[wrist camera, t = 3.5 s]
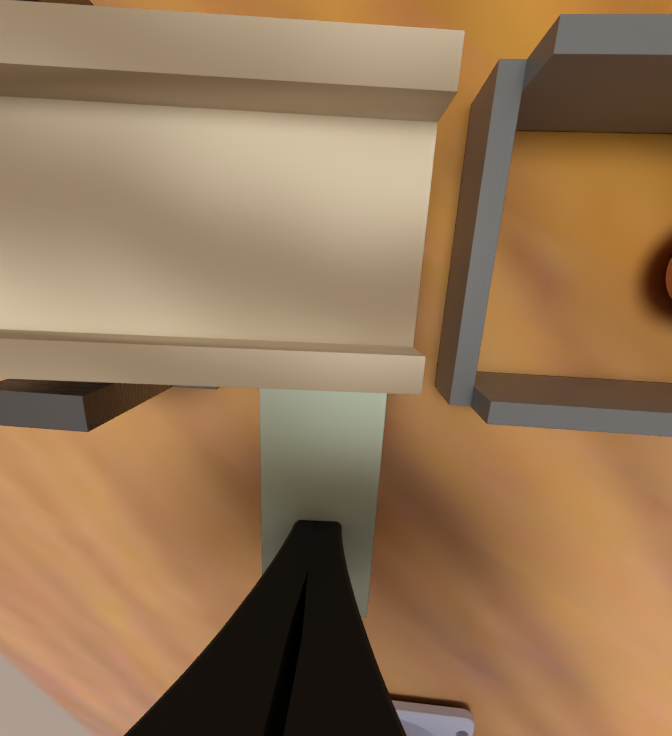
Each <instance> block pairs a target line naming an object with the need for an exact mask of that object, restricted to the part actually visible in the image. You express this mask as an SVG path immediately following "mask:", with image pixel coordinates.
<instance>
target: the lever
mask: <svg viewBox="0 0 672 736" xmlns="http://www.w3.org/2000/svg"><path fill="white" fill-rule="evenodd" d="M464 33H465V31H461V30H447V29H432V28H417V27H402V26H387V25H372V24H358V23H343V22H328V21H313V20H298V19H284V18H269V17H254V16H239V15H224V14H210V13H195V12H180V11H165V10H150V9H136V8H121V7H106V6H91V5H76V4H62V3H47V2H32V1H17V0H0V378H5V379H31V380H56V381H82V382H107V383H133V384H159V385H184V386H210V387H235V388H259V392H260V455H261V518H262V575H263V574H264V572H265V571H266V569H267V568H268V566H269V565H270V563H271V562H272V561H273V559H274V557H275V556H276V554H277V553H278V551H279V550H280V548H281V546H282V545H283V543H284V542H285V540H286V538H287V536H288V535H289V533H290V531H291V529H292V527H293V525H294V523H295V522H297V521H298V520H315V521H335V522H339V523H340V524H341V526H342V542H343V549H344V554H345V559H346V564H347V569H348V573H349V577H350V581H351V585H352V588H353V592H354V596H355V599H356V603H357V606H358V609H359V613H360V616H361V617H367V608H368V597H369V586H370V575H371V564H372V553H373V542H374V531H375V520H376V509H377V498H378V487H379V476H380V465H381V454H382V443H383V432H384V421H385V410H386V399H387V393H389V394H415V395H421V392H422V384H423V375H424V367H425V359H426V356H425V355H423V354H422V353H421V352H419V351H418V350H417V349H415V348H414V347H413V344H414V334H415V325H416V316H417V307H418V298H419V288H420V279H421V270H422V261H423V252H424V242H425V233H426V224H427V215H428V206H429V196H430V187H431V178H432V169H433V160H434V150H435V141H436V132H437V123H438V121H439V119H440V118H441V116H442V115H443V113H444V112H445V110H446V109H447V107H448V105H449V104H450V102H451V101H452V99H453V98H454V96H455V95H456V93H457V92H458V83H459V75H460V67H461V58H462V50H463V41H464Z"/></svg>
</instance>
